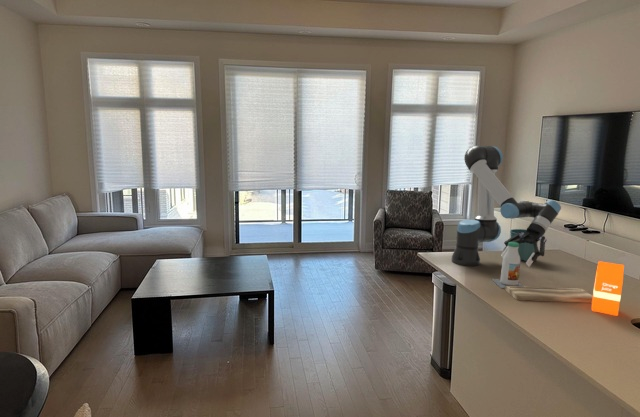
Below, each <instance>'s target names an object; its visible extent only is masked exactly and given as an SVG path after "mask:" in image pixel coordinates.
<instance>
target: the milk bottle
mask: <svg viewBox="0 0 640 417" xmlns="http://www.w3.org/2000/svg"><path fill="white" fill-rule="evenodd" d="M518 248H519V243H517V242H509V243H508V250H507V252H506V254H505V255H504V257H503V259H502V263H501V264H502V265H501V272H500V278H499V279H500V282H501V283H502V284H505V285H509V286H516V285H517V284H518V282H519V276H520V270H521V260H520V256H519V253H518Z"/></svg>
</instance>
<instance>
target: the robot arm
mask: <svg viewBox="0 0 640 417" xmlns="http://www.w3.org/2000/svg"><path fill="white" fill-rule="evenodd" d="M503 158H504V156H503V152H502V151H501V149H499V147H497V146H493V145H473V146H470V147H469V148H468V149H466V151H465V154H464V159H463V160H464V163H465V166H466V168H467V169H468V170H469V171H470V173H472V174H473V173H474V174H475V176H476V177H477V178H478V179H477V180H478V186H477V188H478V191H477V215H476V216H475V217H474V219H464V220H463V219H462V220H460V221H458V223H457V229H456V239H455V240H456V241H455V243H456V244H455V248H454V250H453V252H452V255H451V262H452V263H453V264H457V265H462V266H467V267H468V266H469V267H471V266H472V267H475V266H479V265H480V264H481V257H480V253H479V244H480V243H490V242H494V241H496V240H497V239H499V237H500V236H501V233H502V231H501V230H502V228H501V227H502V226H501V225H500V223H498V218H497V217H496V216H495V202H496V203H497V204H498V205H499V207H500V210H499V211H500V215H501V217H503V218H505V219H512V220H513V219H517V218H518V219H519V218H533V219H532V221H531V222H530V224H529V225H528V226H527V228H526V232H525V233H522V232H521V231H519V232H518V233H517V234H516V235H514V236H513V237H511V236H510V238H509V239H506V240H505V241H504V243H503V244H504V245H505V247H504V248H503V250H502V253H500V254H501V255H500V257H501V259H502V260H503V257H504V255H505V254H506V252H507V250H508V243H509V242H517V243H519V244H521V243H525V242H526V243H530V244H533V246H534V250H535V253H534V252H533V253H532V255H531V256H530V258H529V259H528V260H527V261H525V265H526V266H527V267H528V268H530V267H531V265H532V264H533V262H536V261H537V259H538V258H539V257H544V256H545V253H546V252H545V250H546V249H545V248H546V243H547V238H546V237H545V233H546V232H547V230H548V229H549V227H551V225H552V224H553V222H554V220H555V219H556V218H557V216H558V215H559V213H560V211H561V210H562V206H561V205H560V203H559V202H558V201H556V200H553V199H548V200H545V202H544V203H538V202H533V201H529V200H527V201H525V200H521V201H517V200H516V199H515V198H514V197H513V195H512V194H511V192H509V191H508V189H507V188H506V186H505V185H503V183H502V182H501V181H500V179H499V178H498V177H497V176H496V173H497V172H498V171H499V166H500V165H501V164H502V162H503ZM523 238H524V240H523ZM537 241H538V242H540V243H539V247H538V243H537Z"/></svg>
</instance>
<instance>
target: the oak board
mask: <svg viewBox="0 0 640 417" xmlns="http://www.w3.org/2000/svg"><path fill="white" fill-rule="evenodd" d="M524 286H525V285H523V286H506V288H505V289H504V290H505V291H506V293H508V294H509V295H510V296H512V297H513V299H515V300H517V301H537V302H538V301H540V302H564V303H567V302H568V303H589V304H590V303H591V304H592V298H593V294H591V293H589V292H587V291H586V290H584V289H583V288H575V287H572V288H571V287H570V288H569V287H568V288H567V287H548V286H545V287H544V286H525V287H524Z"/></svg>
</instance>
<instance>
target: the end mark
mask: <svg viewBox="0 0 640 417" xmlns="http://www.w3.org/2000/svg"><path fill="white" fill-rule="evenodd" d="M491 281H492V282H493V283H494V284H496V285H497V286H498V287H499V288H500V289H504V290H505V288H506V286H509V285H505V284H502V283H501V282H500V278H499V279H498V278H497V279H496V278H495V279H494V278H491ZM516 286H524V287H526V286H525V285H523V284H522V283H520V281H518V284H517V285H516Z"/></svg>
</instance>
